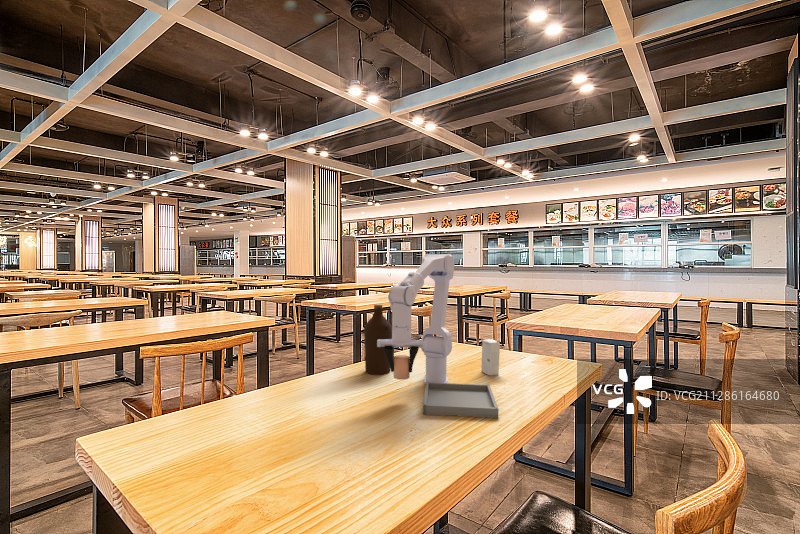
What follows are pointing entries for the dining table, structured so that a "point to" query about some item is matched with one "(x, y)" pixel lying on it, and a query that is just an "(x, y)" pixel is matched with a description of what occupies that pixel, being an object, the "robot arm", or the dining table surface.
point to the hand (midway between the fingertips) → (401, 371)
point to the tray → (459, 400)
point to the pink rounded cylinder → (401, 367)
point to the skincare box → (490, 357)
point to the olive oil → (372, 332)
